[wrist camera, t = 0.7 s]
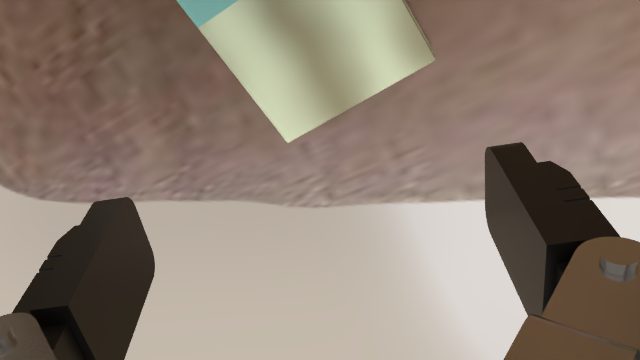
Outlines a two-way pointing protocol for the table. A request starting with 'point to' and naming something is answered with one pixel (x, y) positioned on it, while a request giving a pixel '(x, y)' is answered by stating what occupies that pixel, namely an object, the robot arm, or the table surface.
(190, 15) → the teal block
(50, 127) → the table surface
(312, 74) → the tunnel track
